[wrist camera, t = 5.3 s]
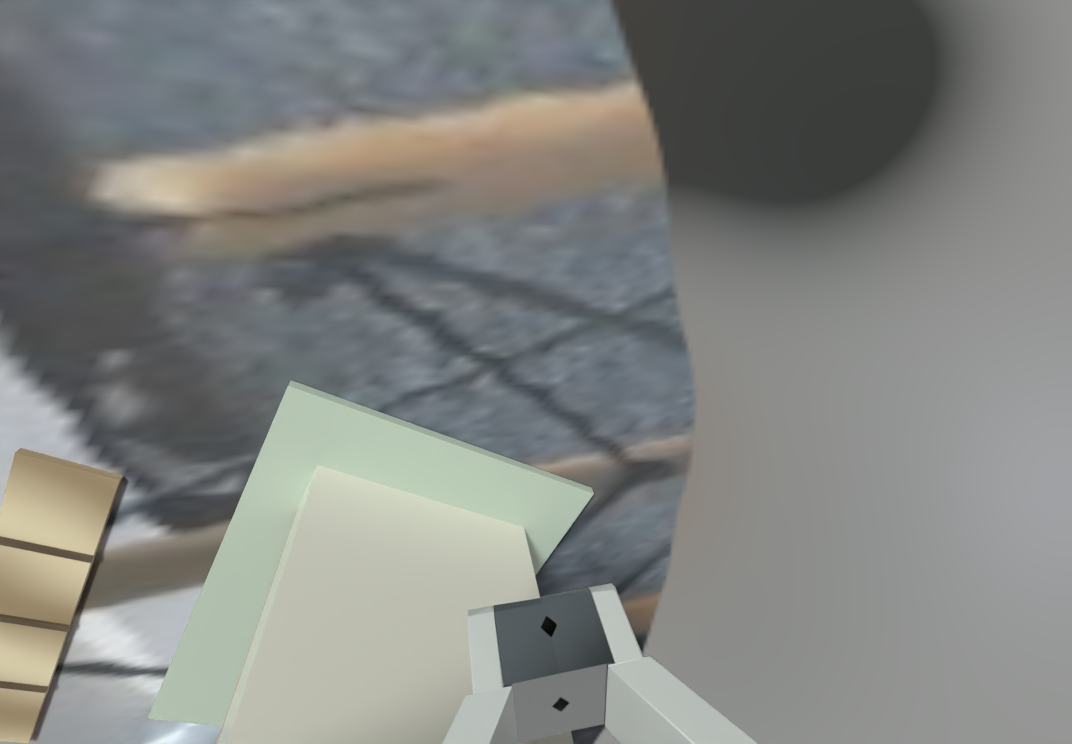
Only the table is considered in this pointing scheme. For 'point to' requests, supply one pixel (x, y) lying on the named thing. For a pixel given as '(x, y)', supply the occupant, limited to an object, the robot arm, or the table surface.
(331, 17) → the table surface
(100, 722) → the table surface
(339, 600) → the cream layered slab
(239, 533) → the felt pad
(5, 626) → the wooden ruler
